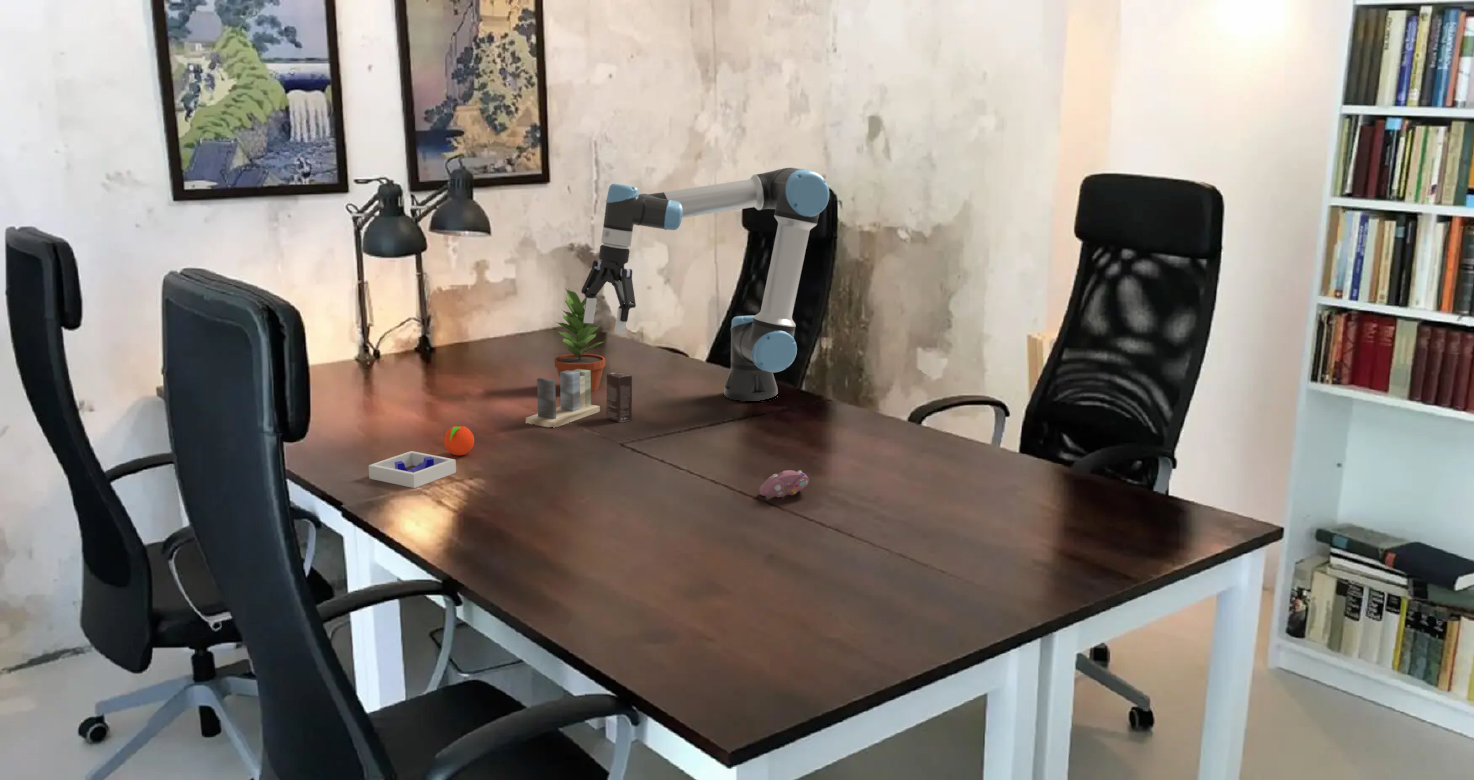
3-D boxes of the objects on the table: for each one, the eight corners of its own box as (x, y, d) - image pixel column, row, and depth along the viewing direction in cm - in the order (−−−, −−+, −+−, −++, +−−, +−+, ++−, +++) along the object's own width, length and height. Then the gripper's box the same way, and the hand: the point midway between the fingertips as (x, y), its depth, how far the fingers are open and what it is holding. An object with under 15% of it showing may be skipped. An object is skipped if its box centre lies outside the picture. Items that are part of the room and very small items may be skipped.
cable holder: (429, 472, 266) (428, 454, 265) (434, 476, 263) (433, 458, 262) (393, 477, 262) (392, 460, 261) (398, 481, 259) (397, 464, 258)
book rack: (599, 411, 320) (599, 369, 317) (554, 428, 303) (553, 383, 300) (572, 407, 324) (571, 365, 321) (525, 423, 307) (524, 379, 304)
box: (633, 420, 311) (632, 375, 309) (618, 423, 309) (618, 377, 306) (620, 415, 316) (619, 371, 313) (605, 418, 313) (605, 373, 310)
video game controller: (765, 506, 251) (773, 482, 246) (756, 491, 254) (764, 467, 249) (806, 500, 255) (814, 476, 251) (796, 485, 258) (805, 461, 254)
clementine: (465, 461, 274) (464, 431, 272) (437, 459, 275) (435, 429, 273) (479, 452, 281) (478, 422, 280) (452, 449, 283) (450, 420, 281)
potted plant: (617, 387, 348) (616, 284, 341) (583, 397, 335) (582, 290, 328) (577, 380, 355) (576, 280, 349) (543, 390, 343) (541, 286, 336)
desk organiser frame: (456, 472, 265) (455, 459, 264) (414, 488, 254) (413, 474, 253) (411, 463, 271) (411, 450, 270) (369, 478, 260) (368, 465, 259)
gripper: (575, 237, 310) (564, 318, 313) (633, 252, 292) (621, 337, 296) (598, 239, 315) (587, 319, 319) (657, 254, 297) (644, 338, 301)
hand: (603, 328), depth 307 cm, fingers open, 13 cm apart
